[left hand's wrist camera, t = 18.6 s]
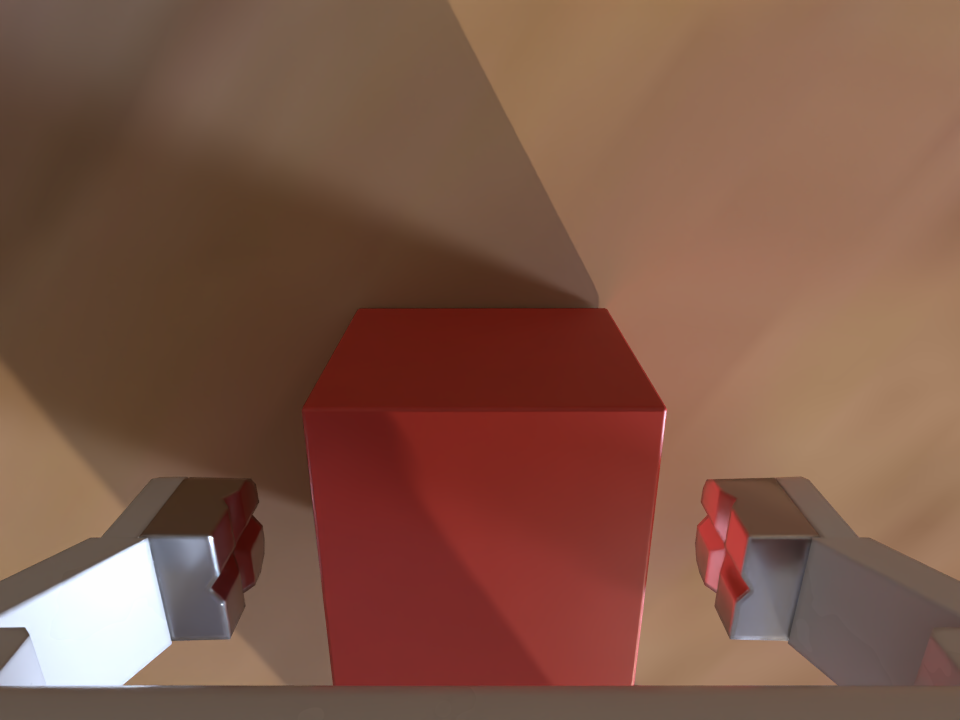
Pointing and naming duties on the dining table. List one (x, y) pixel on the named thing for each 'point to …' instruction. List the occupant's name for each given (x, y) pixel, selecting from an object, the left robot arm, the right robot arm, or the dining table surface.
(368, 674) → the brick
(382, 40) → the dining table surface
